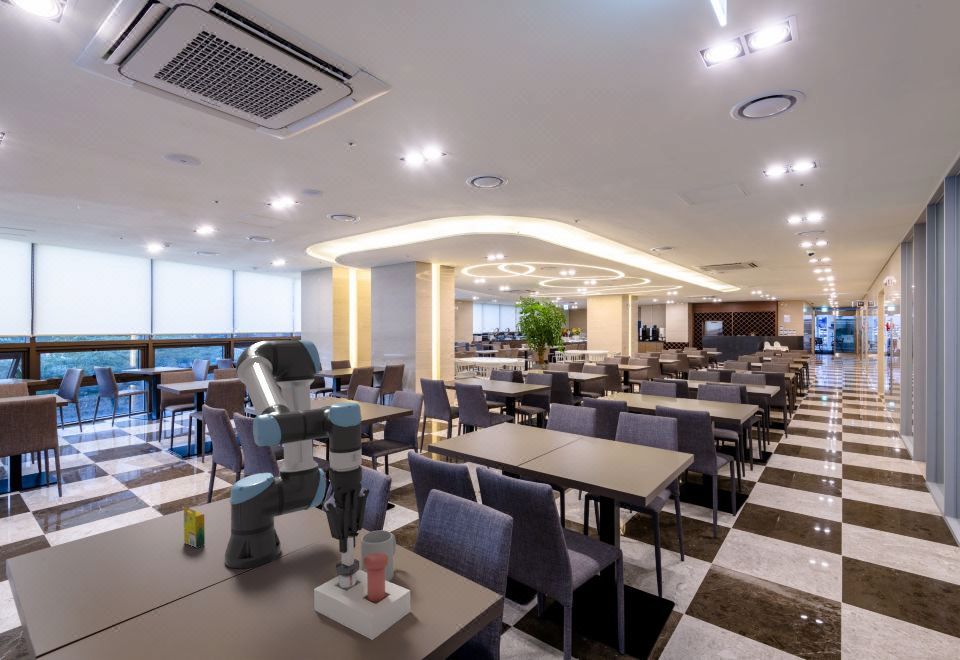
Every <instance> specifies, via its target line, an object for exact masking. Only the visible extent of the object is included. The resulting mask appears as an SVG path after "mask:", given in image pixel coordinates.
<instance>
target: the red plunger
mask: <svg viewBox="0 0 960 660" xmlns="http://www.w3.org/2000/svg"><path fill="white" fill-rule="evenodd" d="M387 564H388V555H386V554H384V553H373V554H370V555H368V556H366V557H365V558H364V568H366V569H367V588H368V601H370V602H372V603H379V602H380V601H382V600H383V599H385V566H387Z"/></svg>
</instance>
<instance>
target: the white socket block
mask: <svg viewBox="0 0 960 660" xmlns="http://www.w3.org/2000/svg"><path fill="white" fill-rule="evenodd" d="M313 600H314V601H313V602H314V604H313V607H314V611H315V612H317V613H319V614H321V615H323V616H325V617H327V618H329V619H331V620H333V621H335V622H336V623H338V624H341V625H342V626H345V627H347V628H348V629H350V630H352V631H353V632H356V633H358V634H360V635H362V636H364V637H366V638H367V639H370V640H371V641H373V640H375V639H376V638H377V637H378V636H380V635H381V634H383V633H384V632H385V631H386V630H388V629H389V628H391V627H392V626H393V625H394V624H396V623H397V622H399V621H400V620H401V619H403V618H405V616H406V615H408V614H410V613H411V612H412V611H411V590H410V589H408V588H405V587H403V586H401V585H398V584H395V583H393V582H390V581H389V582H388V581H386V580H385V599H383V600H382V601H380V602H379V603H372V602H370V601H368V588H367V573H366V572H363V571H362V569H361V570H360V569H359V570H358V571H357V572H356V586H354V587H352V588H351V589H349V590H347V591H346V590H343V589H341V588H339V575H337V576H335V577H334V578H331V579H330V580H328V581H326V582H324V583H323V584H321V585H319V586H316V587H315V588H314V589H313Z"/></svg>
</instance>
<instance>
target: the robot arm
mask: <svg viewBox="0 0 960 660" xmlns="http://www.w3.org/2000/svg"><path fill="white" fill-rule="evenodd" d="M320 367H321V357H320V353H319V351H318V348H317V346H316V345H315V343H313V341H311V340H307V339H306V340H304V339H303V340H302V339H294V340H293V339H292V340H262V341H258V342H256V343H253V344H251V345H249V346H248V347H246V348H245V349H244V350H243V351H242V352H241V354H240V355H239V356H238V358H237V360H236V363H235V372H236V375H237V378H238V380H239V381H240V382H241V383H242V384H244V386H245V389H247V393H248V395H249V397H250V400H251V403H252V406H253V409H254V410H255V414H256V416H255V417H254V419H253V422H252V423H253V424H252V435H253V439H254V443H255V445H257V446H258V447H267V446H271V447H274V446H278V445H283V465H282V466H281V467H280V468H279V470H278V471H279V473H278V474H279V475H278V476H275V475H273V473H271V472H263V473H262V472H260V473H254V474H251V475H249V476H245V477H243V478H241V479H239V480H238V481H236V482H235V483H234V484H233V485H232V486H231V488H230V499H229V504H230V537H229V540H228V541H227V542H228V543H227V546H226V549H225V552H224V565H226V566H227V567H228V568H232V569H248V568H254V567H257V566H261V565H264V564H266V563H269V562H270V561H273V560H274V559H276V558H277V557H278V556H279V555H280V553H281V551H282V550H281V549H282V548H281V547H282V545H281V544H282V543H281V541H280V538H279V536H278V532H277V530H276V527H275V517H279V516H284V515H287V514H292V513H296V512H302V511H307V510H309V509H313V508H315V507H318V506H319V505H321V507H322V508H323V510H324V511H325V514H326V519H327V523H328V526H329V527H328V528H329V530H330V536H331V538H333V539H335V540H339V541H338V543H339V544H338V545H339V547H338V549H339V552H340V553H341V561H342V564H344V565H347V566H351V565H353V564H354V559H355V557H354V551H355V548H356V537H358V536H359V535H360V533H359V531H362V529H363V524H364V517H365V511H366V507H367V506H366V505H367V498H368V496H369V494H370V489H369V488H365V487H363V485H362V483H361V482H362V481H363V467H362V466H361V465H362V461H363V460H362V451H363V450H362V419H363V418H362V412H361V411H362V410H361V406H360V404H359V403H357V402H337V403H333V404H332V405H323V406H320V407H318V408H315V409H314V408H312V407H311V405H312V404H311V385H312V384H313V382H314V381H315V376H316V375H318V374H319V373H320V370H321V368H320ZM279 387H280V388H279ZM323 438H329V467H330V468H331V469H330V471H329V483H330V486H331V491H330V494H329V496H330V497H329V498H328V500H326V501H323V500H324V497H325V493H326V485H327V484H326V481H327V480H326V476H325V472H324V470H323V468H320V467H319V463H318V462H316V461H315V460H314V453H313V451H314V450H313V448H314V447H313V440H315V439H317V440H318V439H323Z"/></svg>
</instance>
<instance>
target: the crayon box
mask: <svg viewBox="0 0 960 660" xmlns="http://www.w3.org/2000/svg"><path fill="white" fill-rule="evenodd" d="M183 533H184V534H183V543H184V542H185V543H187V544H189V545H191V546H190V547H192V546H194V547H198V548H200V547H202V546H201V545H203V546H205V545H206V543H205V538H206V537H205V535H206V534H205V514H204V513H201V512H199V511H196V510H194V509H192V508H188V507H185V506H184V508H183ZM187 544H186V545H187ZM204 544H205V545H204ZM189 545H188V546H189ZM199 546H200V547H199ZM194 547H193V548H194Z"/></svg>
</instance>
